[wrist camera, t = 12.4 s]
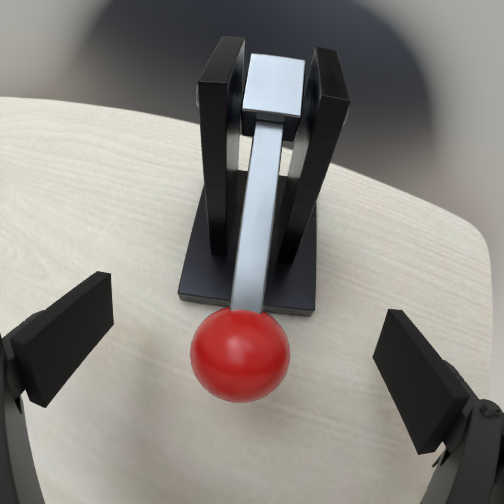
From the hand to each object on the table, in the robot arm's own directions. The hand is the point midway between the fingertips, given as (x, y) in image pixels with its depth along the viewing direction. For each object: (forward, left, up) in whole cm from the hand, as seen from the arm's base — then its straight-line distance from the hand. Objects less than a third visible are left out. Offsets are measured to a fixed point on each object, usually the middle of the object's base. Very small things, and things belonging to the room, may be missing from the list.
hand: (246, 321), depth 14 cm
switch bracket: (+4, -6, -4) cm, 8 cm away
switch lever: (+2, -3, +3) cm, 4 cm away
